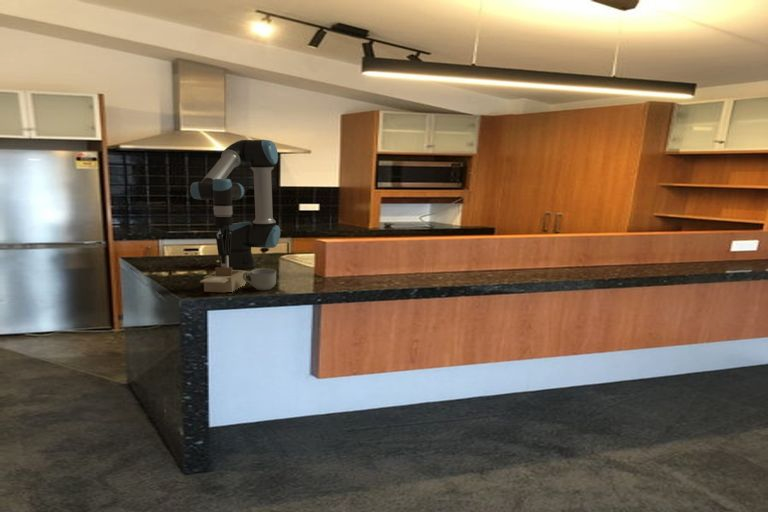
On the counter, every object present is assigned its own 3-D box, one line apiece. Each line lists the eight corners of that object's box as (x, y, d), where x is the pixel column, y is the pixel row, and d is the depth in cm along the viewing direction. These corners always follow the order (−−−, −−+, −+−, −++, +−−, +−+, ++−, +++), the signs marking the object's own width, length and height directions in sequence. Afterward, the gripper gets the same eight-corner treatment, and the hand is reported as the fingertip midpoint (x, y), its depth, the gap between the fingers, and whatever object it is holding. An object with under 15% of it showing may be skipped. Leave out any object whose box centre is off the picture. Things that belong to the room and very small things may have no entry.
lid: (214, 275, 227) (214, 266, 226) (236, 276, 226) (236, 267, 225) (200, 282, 214) (199, 272, 213) (223, 283, 213) (222, 273, 212)
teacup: (278, 286, 232) (278, 268, 231) (274, 291, 222) (274, 273, 220) (246, 285, 232) (246, 268, 231) (240, 291, 221) (240, 273, 220)
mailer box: (220, 283, 236) (219, 269, 235) (246, 284, 235) (245, 270, 234) (204, 291, 220) (203, 276, 219) (231, 292, 219) (231, 277, 218)
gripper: (221, 214, 229) (223, 267, 233) (207, 216, 216) (210, 273, 220) (237, 214, 228) (239, 268, 232) (225, 217, 215) (227, 273, 219)
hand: (225, 270), depth 226 cm, fingers closed
